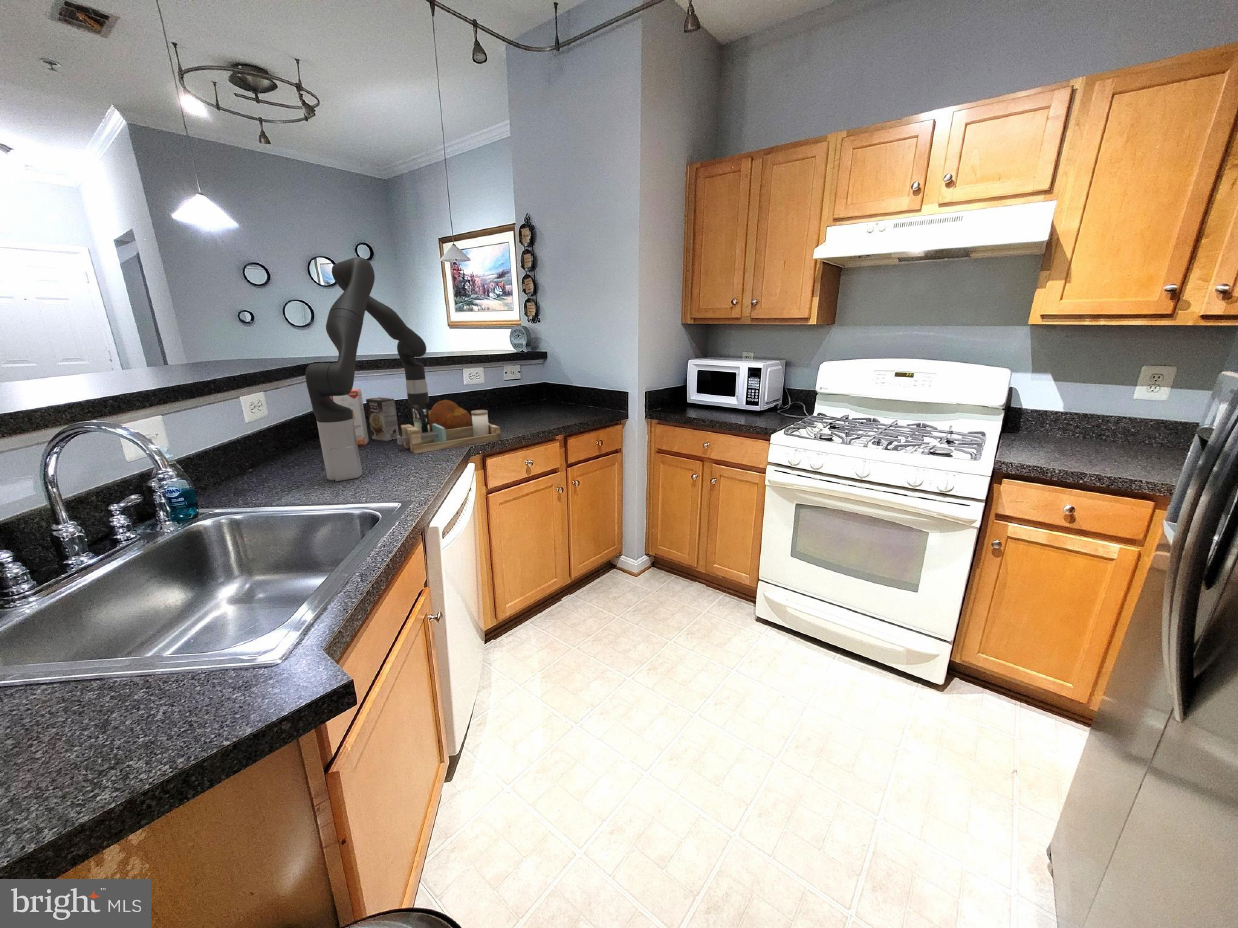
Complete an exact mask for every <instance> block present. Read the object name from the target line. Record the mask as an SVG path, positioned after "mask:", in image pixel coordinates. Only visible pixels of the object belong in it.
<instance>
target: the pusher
mask: <svg viewBox="0 0 1238 928" xmlns="http://www.w3.org/2000/svg"><path fill="white" fill-rule="evenodd" d="M432 429H433V433H431V434H424V435H421V439H428V438H434V442H433V443H437V442H443V441H446V433H445V428H444V427H442V426H439V425H437V424H432ZM396 441H397V444H398V446H401V445H403V442H407V441H409V437H402V435H399V436H397V439H396Z"/></svg>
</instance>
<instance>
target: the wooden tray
mask: <svg viewBox="0 0 1238 928" xmlns="http://www.w3.org/2000/svg"><path fill="white" fill-rule="evenodd" d="M488 425H489V435H483V436H477V437H474V434H473V425H470V426H469V427H463V428H456V429H448V430H445V433H446V441H443V442H437V443H435V442H434V438H428V439H421V435H424V434H431V433H433V432H426V433H421V430H419V429H417V428H415V427H414V425H411V424H409V423H408V424H400V428H401V437H409V441H407V442H402V445H403V447H404V448H405V449H410V452H411V451H412V452H411V453H413V454H414V453H415V454H420V453H426V452H427V451H428V452H433V451H440V450H446V449H453V448H459V447H465V446H472V445H477V444H483V443H484V444H485V443H490V442H496V441H501V440H502V435H501V427H500V426H498V425H495V424H492V423H489V422H488ZM428 452H427V453H428Z"/></svg>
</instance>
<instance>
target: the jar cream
mask: <svg viewBox="0 0 1238 928" xmlns="http://www.w3.org/2000/svg"><path fill="white" fill-rule="evenodd" d="M488 413H489V412H488V410H487V409H475V410H471V412H470V416H471V419H472V424H471V425H472V426H473V434H474V436H473V437H477V436H483V435H489V425H488V423H489V417H488Z"/></svg>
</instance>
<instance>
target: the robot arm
mask: <svg viewBox="0 0 1238 928" xmlns="http://www.w3.org/2000/svg"><path fill="white" fill-rule="evenodd" d="M331 275H332V277H333V280H334V281H335V283H336V284H337V287H339V288H340V289H341V290H342V291H343V292H342V294H340V295H339V297H338V298H336V300H335V301H334V303H333V304H332V305H331V307H330V310H328V315H327V320H326V323H325V330H326V333H327V335H328V338H329V339H330V341H331V342H332V344H333V345H334V347H335V348H336V351H338V352H337V353H338V357H337V361H336V362H324V363H323V362H322V363H320V362H319V363H318V362H317V363H310V364H308V366H307V367H306V368H305V384H306V389H307V392H308V395H309V400H310V404H311V408H312V411H313V414H314V416H315V419H316V423H317V429H318V436H319V442H320V448H321V452H322V457H323V458H322V459H323V463H324V467H325V473H326V477H327V480H328V481H334V480H335V482H341V481H346V480H353V479H358V478H360V476H362V475H363V470H362V469H363V467H362V463H361V459H360V451H359V447H358V446H359V445H357V439H356V433H355V426H354V420H353V414H352V410H351V409H350V408H348V407H345V406H341V405H339V404H337V403H335V402H334V401H332V400H331V398H330V396H344V395H348V394H349V393H350V392H351V390H352V389H354V382H355V372H356V371H355V370H356V361H357V360H356V359H357V353H358V348H359V342H360V338H361V334H362V329H363V326H364V325H363V324H364V320H365V319H364V318H365V313H366V312H367V313H368V314H369V315H370V316H371V317H372V318H373V319H374V320H375V321H376V322H377V323H378V324H379V325H380V327H382V329H383V330H384V331H385V333H387V335H388V336H389V337H390V338H391V339H393V340H394V341H397V345H396V350H397V351H396V352H397V354H398V357H399V359H400V362H401V365H402V366H403V370H404V376H405V388H406V390H405V391H406V395H407V403H408V405H410V406H411V407H410V408H411V412H412V413H411V414H412V418H417V417H418V420H419V421H420V423H421V428H422V433H426V432H428V426H427V425H428V424H429V414H428V411H429V409H428V408H427V407H426V406H425V405H426V404H429V403H430V398H429V391H428V390H429V389H428V384H427V380H426V373H425V366H424V365H423V364H422V363H420V362H418V361H417V359H416V358H421V357H423V356H425V354H426V353H427V345H426V343H425V341H424V340H423V338H422V337H421V336H420V335H419V334H417V333H416V332H415V331H414V330H412V329H411V328H410V327H408V325H407V324H406V323H405V322H404V321H403V319H402V317H401V316H399V314H398V313H397V312H396V311H395V309H393V308H391V307H390V306H388V305H387V304H384V303H383V302H381V301H379V300H377V299H375V298H374V297H372V296H371V292H372V290H373V287H374V284H375V280H376V277H375V276H376V275H375V270H374V267H373V265H372V264H371V262H370V261H369V259H367V258H365V257H362V256H355V257H350V258H349V259H345V260H341V261H339V262H336V263H335V264H333V265H332V267H331ZM424 420H425V422H424Z"/></svg>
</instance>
